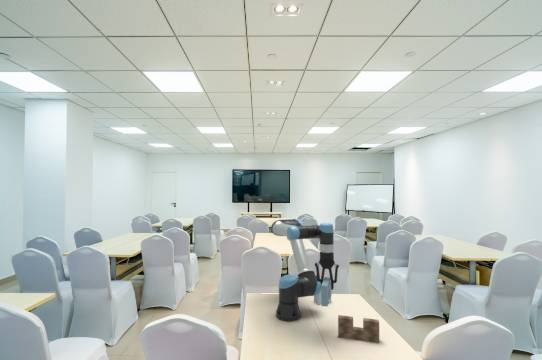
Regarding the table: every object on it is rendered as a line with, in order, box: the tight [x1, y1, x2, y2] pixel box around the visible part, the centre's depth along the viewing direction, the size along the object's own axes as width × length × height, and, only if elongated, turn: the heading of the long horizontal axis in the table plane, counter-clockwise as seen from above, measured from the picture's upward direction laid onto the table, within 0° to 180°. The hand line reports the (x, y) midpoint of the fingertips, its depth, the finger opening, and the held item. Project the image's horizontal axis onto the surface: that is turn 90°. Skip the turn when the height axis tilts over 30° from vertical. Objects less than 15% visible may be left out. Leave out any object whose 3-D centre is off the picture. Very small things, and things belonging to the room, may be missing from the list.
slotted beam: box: [337, 314, 380, 344], centre depth 143 cm, size 20×3×10 cm, turn 74°
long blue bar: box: [320, 276, 331, 308], centre depth 146 cm, size 3×16×10 cm, turn 163°
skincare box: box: [313, 291, 332, 306], centre depth 190 cm, size 10×6×10 cm, turn 113°
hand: (327, 295), depth 151 cm, fingers closed on long blue bar, 3 cm apart
